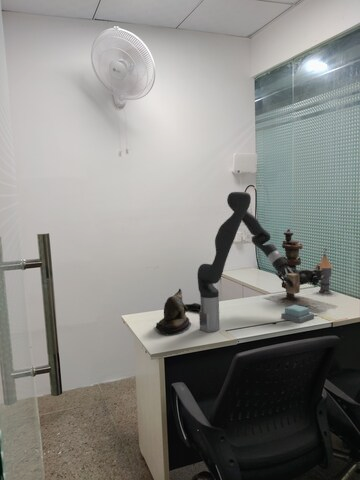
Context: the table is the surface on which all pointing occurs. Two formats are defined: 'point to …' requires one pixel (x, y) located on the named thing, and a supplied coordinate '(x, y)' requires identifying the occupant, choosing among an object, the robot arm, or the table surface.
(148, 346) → the table surface
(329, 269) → the model tower
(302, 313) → the tower top slab
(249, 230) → the robot arm
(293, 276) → the walnut pillar
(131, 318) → the table surface
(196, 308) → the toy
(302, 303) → the valve
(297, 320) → the tower base slab
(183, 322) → the sculpture
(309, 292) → the table surface
